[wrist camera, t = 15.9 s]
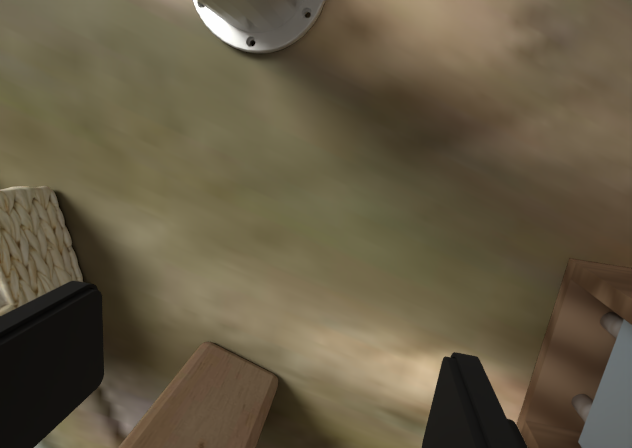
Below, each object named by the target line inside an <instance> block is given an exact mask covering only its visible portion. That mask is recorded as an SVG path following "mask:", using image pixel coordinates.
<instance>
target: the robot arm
mask: <svg viewBox="0 0 632 448" xmlns="http://www.w3.org/2000/svg"><path fill="white" fill-rule="evenodd" d="M192 1H193V3H194V6H195V9H196V11H197V13H198V14H199V16H200V18H201V19H202V21H203V23H204V24H205V25H206V26H207V27H208V29H209V30H210V31H211V32H212V33H213V34H214V35H215V36H217V37H218V38H219V39H220V40H222V41H223V42H225V43H226V44H228V45H230V46H231V47H234V48H236V49H239V50H241V51H244V52H250V53H256V54H258V53H271V52H275V51H278V50H282V49H284V48H286V47H288V46H290V45H292V44H294V43H295V42H296V41H297V40H299V39H300V38H301V37H303V36H304V35H305V34H306V32H307V31H308V30H309V29H310V28H311V27H312V26H313V24H314V23H315V21H316V19H317V18H318V16H319V14H320V13H321V11H322V8H323V5H324V3H325V0H192ZM204 6H205V7H204ZM307 13H310V14H311V16H310V17H309V18H306V14H307ZM253 41H255V42H256V43H255V45H254V46H252V45H251V44H252V42H253ZM103 376H104V360H103V320H102V294H101V292H100V291H98V289H97V287H96V286H95V285H94V284H90V283H85V282H79V281H70V282H68V283H66V284H64V285H62V286H60V287H58V288H56V289H54V290H52V291H50V292H48V293H46V294H44V295H42V296H40V297H38V298H36V299H34V300H32V301H30V302H28V303H26V304H24V305H22V306H20V307H18V308H16V309H14V310H12V311H10V312H8V313H6V314H4V315H2V316H0V448H34V447H35V446H36V445H37V444H38V443H39V442H40V441H41V440H42V439H43V438H45V437H46V436H47V435H48V434H49V433H50V432H51V431H52V430H53V429H54V428H55V427H56V426H57V425H58V424H59V423H60V422H62V421H63V420H64V419H65V418H66V417H67V416H68V415H69V414H70V413H71V412H72V411H73V410H74V409H75V408H76V407H78V406H79V405H80V404H81V403H82V402H83V401H84V400H85V399H86V398H87V397H88V396H89V395H90V394H91V393H92V392H93V391H95V390H96V389H97V388H98V386H99V385H100V383H101V382H102V379H103ZM422 448H528V447H527V445H526V443H525V441H524V439H523V437H522V435H521V433H520V431H519V429H518V427H517V425H516V424H515V422H513V421H512V420H510V419H507V418H506V416H505V414H504V412H503V410H502V407H501V405H500V403H499V401H498V399H497V397H496V394H495V392H494V390H493V388H492V386H491V384H490V381H489V379H488V377H487V375H486V373H485V371H484V369H483V366H482V364H481V362H480V360H479V358H478V357H476V356H471V355H466V354H461V353H455V352H454V353H452V355H451V358H450V357H444V358H443V361H442V365H441V369H440V373H439V377H438V381H437V385H436V389H435V394H434V398H433V402H432V406H431V410H430V414H429V418H428V422H427V426H426V430H425V435H424V439H423V443H422Z"/></svg>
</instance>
